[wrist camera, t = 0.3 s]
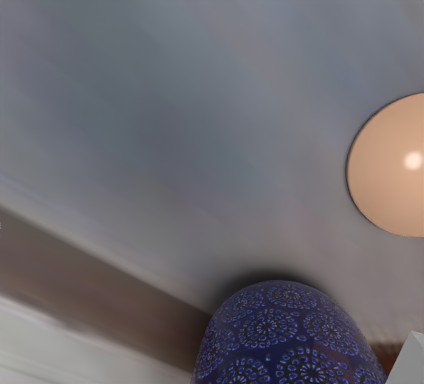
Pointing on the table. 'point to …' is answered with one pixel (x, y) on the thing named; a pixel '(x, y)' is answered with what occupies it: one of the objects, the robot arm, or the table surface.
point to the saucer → (391, 167)
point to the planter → (284, 340)
